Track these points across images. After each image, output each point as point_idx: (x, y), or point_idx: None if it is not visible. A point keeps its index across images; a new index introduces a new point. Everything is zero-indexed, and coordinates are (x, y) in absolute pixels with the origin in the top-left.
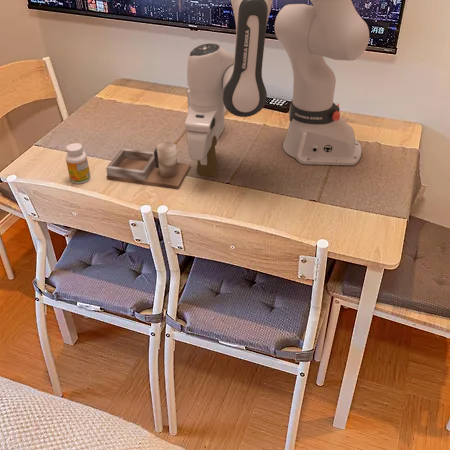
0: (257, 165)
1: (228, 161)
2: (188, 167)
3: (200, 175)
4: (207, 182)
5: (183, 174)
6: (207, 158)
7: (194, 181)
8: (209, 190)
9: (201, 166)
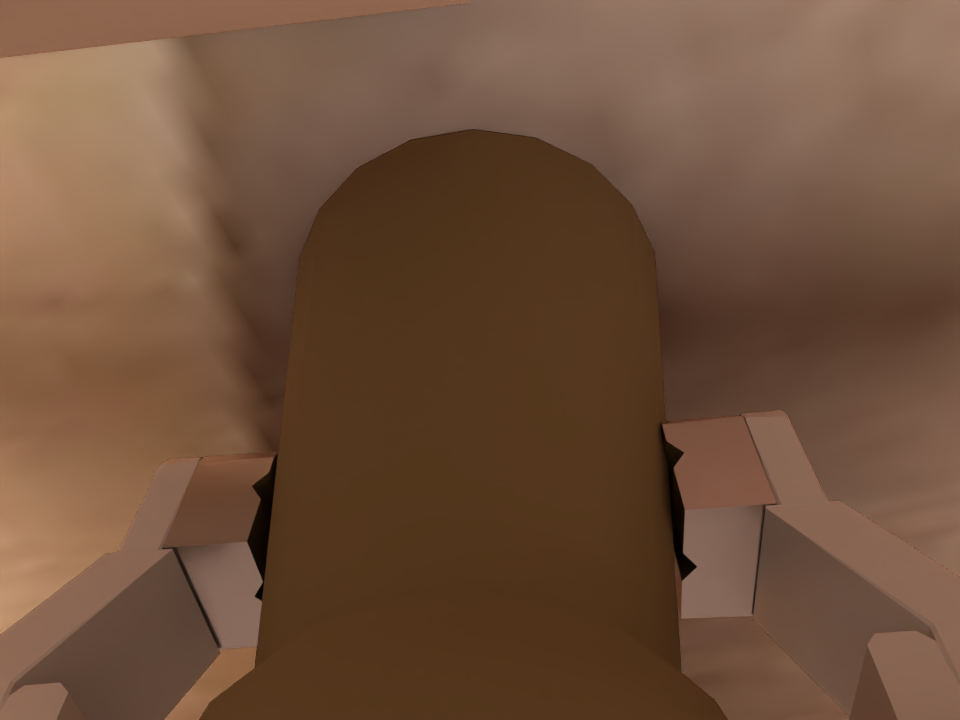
0: (780, 717)
1: (826, 467)
2: (344, 9)
3: (300, 256)
4: (187, 399)
5: (52, 21)
6: (236, 637)
7: (98, 230)
8: (37, 475)
9: (288, 365)
